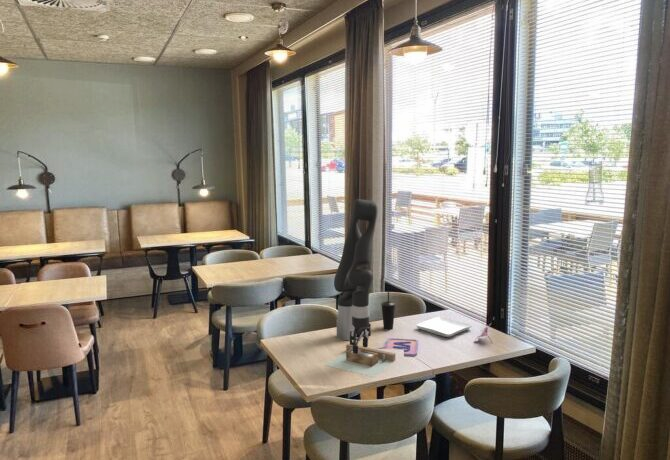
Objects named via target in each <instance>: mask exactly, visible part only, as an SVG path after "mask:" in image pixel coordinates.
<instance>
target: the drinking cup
mask: <svg viewBox="0 0 670 460" xmlns="http://www.w3.org/2000/svg"><path fill="white" fill-rule="evenodd" d="M380 303H381V304H380V305H381V312H382V324H383V329H384V330H385V331H386V330H387V331H391V330H393V329H394V320H395V310H396V304H397V303H396V302H395V301H392V300H390V290H389V291H387V300H384V301H382V302H380Z"/></svg>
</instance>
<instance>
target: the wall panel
mask: <svg viewBox="0 0 670 460" xmlns="http://www.w3.org/2000/svg"><path fill="white" fill-rule="evenodd" d="M345 348H346V350H345V352H343V353H341V354H340V355H338V356H337V357H335V358H334V359H332V360H330V361H329V362H327V363H326V364H325V366H326V367H331V368H335V369H339V370H344V371H348V372H350V373H355V374H359V375H364V376H368V377H371V378H376V376H378V375H380V373H381V372H383V371H384V370H386V369H387V368H388V367H389V366H390V365H391V364H393V363H394V362H395V361H396V352H395V353H393V352H388V351H384V350H381V349H375V348H370V347H363V345H358V349H360V350H365V351H369V352H374V353H378V363H377V364H375V365H374V366H373V367H372V366H367V365H363V364H359V363H354V362H350V361H346V352H347V351H348V350H350V349H351V348H353V345H350V343H347V344H346V345H345Z"/></svg>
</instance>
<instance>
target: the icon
mask: <svg viewBox="0 0 670 460" xmlns="http://www.w3.org/2000/svg"><path fill="white" fill-rule="evenodd" d="M374 349H376V350H403V356H404V357H417V356H418V349H419V340H417V339H413V338H399V337H397V338H396V337H390V338H387V340H386V344H385V346H380V347H376V348H374Z"/></svg>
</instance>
